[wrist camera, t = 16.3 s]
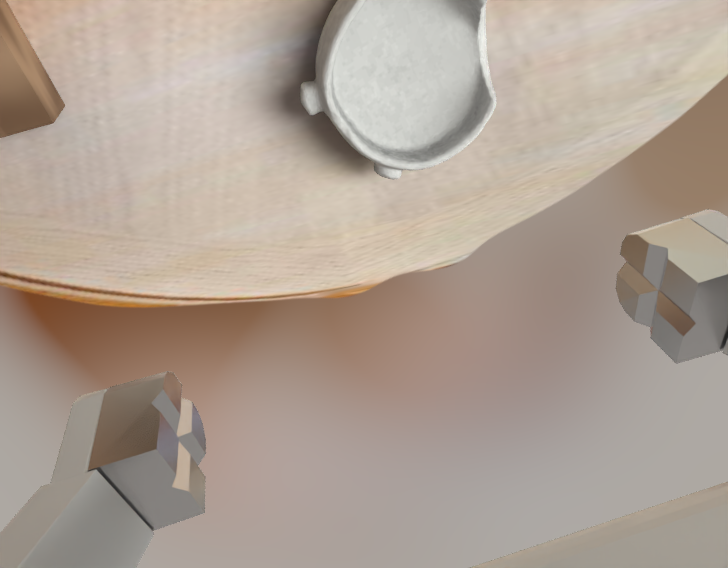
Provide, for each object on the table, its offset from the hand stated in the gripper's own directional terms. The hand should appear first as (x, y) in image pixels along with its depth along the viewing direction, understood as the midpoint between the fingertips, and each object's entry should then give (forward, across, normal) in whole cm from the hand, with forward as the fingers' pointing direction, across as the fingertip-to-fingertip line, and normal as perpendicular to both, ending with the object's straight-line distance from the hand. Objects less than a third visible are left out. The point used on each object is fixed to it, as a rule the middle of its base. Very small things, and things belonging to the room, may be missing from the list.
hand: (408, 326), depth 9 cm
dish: (+34, -8, +6) cm, 36 cm away
